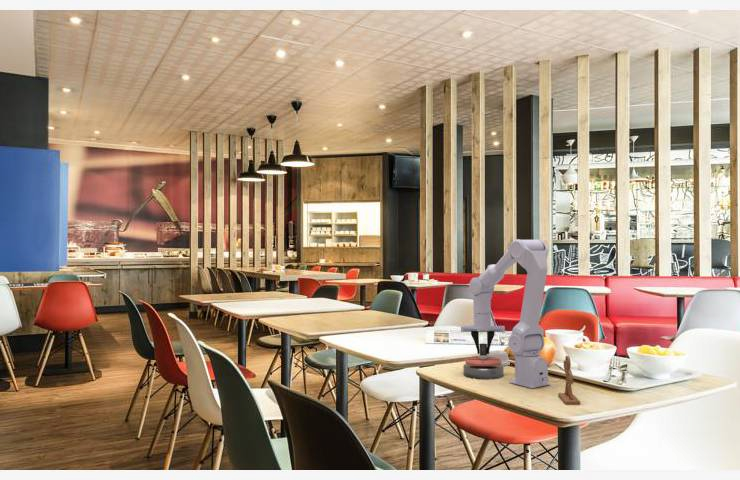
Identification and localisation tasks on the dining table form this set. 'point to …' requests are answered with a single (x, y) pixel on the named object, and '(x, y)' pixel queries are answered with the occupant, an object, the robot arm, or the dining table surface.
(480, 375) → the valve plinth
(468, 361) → the handwheel
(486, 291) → the robot arm
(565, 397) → the brown statuette
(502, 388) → the dining table surface
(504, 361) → the mechanical component
